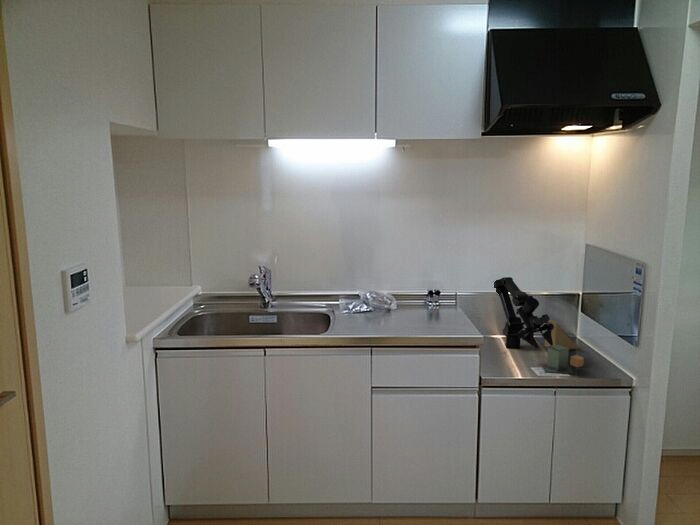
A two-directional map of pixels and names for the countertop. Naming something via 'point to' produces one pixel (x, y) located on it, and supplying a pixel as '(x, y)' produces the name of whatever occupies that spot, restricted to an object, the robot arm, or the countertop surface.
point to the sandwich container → (560, 337)
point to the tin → (557, 358)
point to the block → (576, 361)
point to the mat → (548, 370)
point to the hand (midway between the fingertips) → (545, 346)
